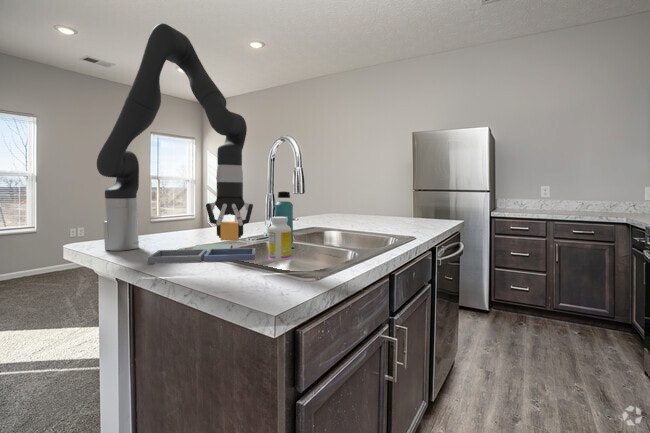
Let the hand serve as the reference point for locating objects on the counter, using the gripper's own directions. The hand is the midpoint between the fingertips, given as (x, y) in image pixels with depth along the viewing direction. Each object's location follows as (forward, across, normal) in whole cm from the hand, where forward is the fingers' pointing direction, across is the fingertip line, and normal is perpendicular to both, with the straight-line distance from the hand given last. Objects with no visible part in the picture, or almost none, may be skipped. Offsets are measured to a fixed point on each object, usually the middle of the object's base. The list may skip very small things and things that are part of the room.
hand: (230, 237), depth 105 cm
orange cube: (+1, 0, 0) cm, 1 cm away
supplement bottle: (+6, -15, +4) cm, 17 cm away
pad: (+7, +7, -13) cm, 16 cm away
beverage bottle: (+6, -17, -12) cm, 22 cm away
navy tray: (+6, 0, 0) cm, 6 cm away
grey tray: (+7, +15, 0) cm, 16 cm away
